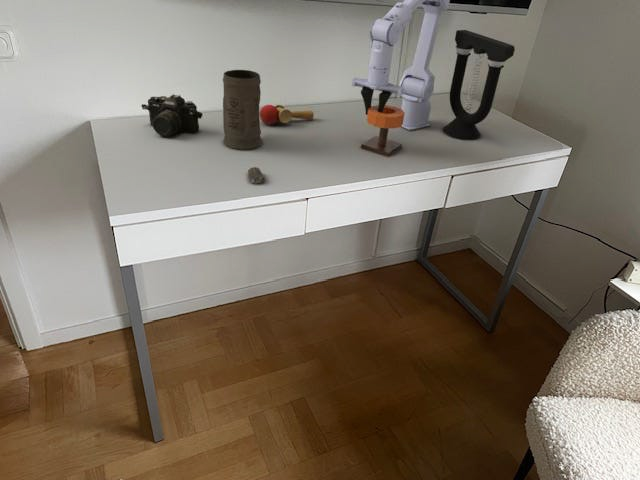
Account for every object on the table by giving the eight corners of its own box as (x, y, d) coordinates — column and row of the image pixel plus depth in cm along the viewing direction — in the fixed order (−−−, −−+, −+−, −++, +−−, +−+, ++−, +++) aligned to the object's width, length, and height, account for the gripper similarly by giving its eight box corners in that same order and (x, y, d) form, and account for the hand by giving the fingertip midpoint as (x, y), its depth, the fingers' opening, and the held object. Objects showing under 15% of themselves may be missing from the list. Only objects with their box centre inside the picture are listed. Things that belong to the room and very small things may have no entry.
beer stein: (253, 153, 137) (255, 79, 127) (217, 147, 138) (216, 73, 128) (269, 137, 150) (272, 69, 140) (235, 132, 152) (236, 64, 142)
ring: (385, 114, 149) (387, 102, 147) (409, 124, 143) (411, 113, 141) (360, 119, 144) (361, 108, 142) (383, 130, 137) (385, 119, 135)
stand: (375, 139, 153) (378, 118, 149) (401, 147, 149) (405, 126, 145) (360, 147, 146) (363, 126, 143) (388, 156, 142) (391, 135, 139)
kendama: (303, 118, 167) (254, 116, 158) (308, 101, 163) (258, 98, 154) (313, 130, 162) (262, 129, 153) (318, 113, 158) (267, 110, 149)
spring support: (429, 125, 167) (448, 30, 150) (456, 121, 172) (478, 29, 156) (471, 148, 152) (498, 46, 135) (500, 143, 157) (529, 44, 141)
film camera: (135, 137, 140) (130, 102, 135) (146, 122, 150) (142, 89, 145) (199, 141, 141) (197, 106, 136) (206, 125, 152) (204, 93, 146)
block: (259, 172, 127) (259, 166, 126) (265, 183, 123) (265, 176, 122) (245, 174, 126) (245, 167, 125) (251, 184, 122) (251, 178, 121)
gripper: (350, 65, 135) (345, 113, 143) (401, 74, 131) (393, 124, 138) (358, 60, 141) (353, 107, 148) (408, 69, 136) (400, 117, 144)
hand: (373, 115), depth 144 cm, fingers closed on ring, 3 cm apart
